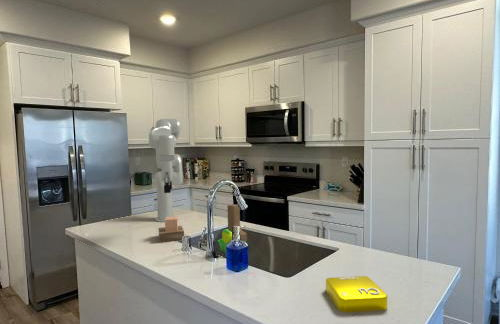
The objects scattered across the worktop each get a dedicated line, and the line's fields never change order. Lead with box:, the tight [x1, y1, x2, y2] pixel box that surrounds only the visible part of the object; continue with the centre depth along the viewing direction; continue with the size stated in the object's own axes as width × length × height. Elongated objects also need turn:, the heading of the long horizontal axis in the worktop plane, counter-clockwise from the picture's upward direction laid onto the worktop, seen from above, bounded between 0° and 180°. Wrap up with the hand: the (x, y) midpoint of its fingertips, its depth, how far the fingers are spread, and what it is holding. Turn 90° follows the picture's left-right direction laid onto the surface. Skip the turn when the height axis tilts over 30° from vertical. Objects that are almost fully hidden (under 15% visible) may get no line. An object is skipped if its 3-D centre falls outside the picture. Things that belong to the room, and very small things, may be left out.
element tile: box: [325, 275, 388, 313], centre depth 100 cm, size 15×15×5 cm
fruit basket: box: [217, 228, 246, 254], centre depth 143 cm, size 11×9×11 cm
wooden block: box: [226, 203, 248, 243], centre depth 159 cm, size 9×4×18 cm, turn 50°
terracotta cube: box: [164, 216, 179, 231], centre depth 166 cm, size 6×6×6 cm
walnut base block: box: [158, 225, 185, 244], centre depth 166 cm, size 12×12×5 cm
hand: (168, 191), depth 167 cm, fingers open, 9 cm apart
